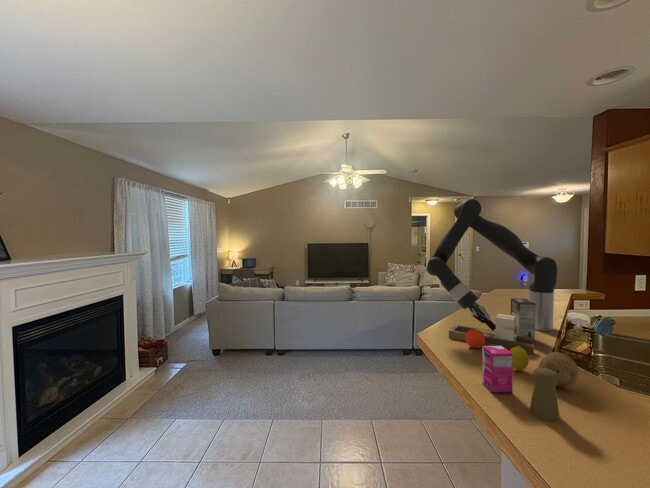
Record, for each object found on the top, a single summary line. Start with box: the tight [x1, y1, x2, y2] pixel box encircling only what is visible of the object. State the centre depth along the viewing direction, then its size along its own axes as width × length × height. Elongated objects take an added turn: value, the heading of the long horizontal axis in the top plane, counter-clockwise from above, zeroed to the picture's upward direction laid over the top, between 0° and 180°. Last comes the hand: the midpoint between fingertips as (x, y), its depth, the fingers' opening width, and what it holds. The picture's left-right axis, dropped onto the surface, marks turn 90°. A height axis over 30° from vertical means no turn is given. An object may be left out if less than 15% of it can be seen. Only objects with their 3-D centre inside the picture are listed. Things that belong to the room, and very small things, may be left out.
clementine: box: [465, 329, 488, 349], centre depth 117 cm, size 8×7×7 cm
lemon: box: [508, 346, 530, 372], centre depth 97 cm, size 6×6×8 cm
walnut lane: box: [448, 324, 536, 355], centre depth 124 cm, size 11×30×3 cm, turn 54°
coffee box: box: [510, 297, 536, 337], centre depth 127 cm, size 9×6×16 cm
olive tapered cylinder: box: [528, 367, 561, 423], centre depth 74 cm, size 6×6×11 cm
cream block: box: [495, 313, 515, 340], centre depth 121 cm, size 6×6×8 cm
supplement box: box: [481, 345, 513, 395], centre depth 86 cm, size 6×6×12 cm
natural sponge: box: [538, 351, 579, 389], centre depth 87 cm, size 9×9×10 cm
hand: (495, 329), depth 123 cm, fingers closed
